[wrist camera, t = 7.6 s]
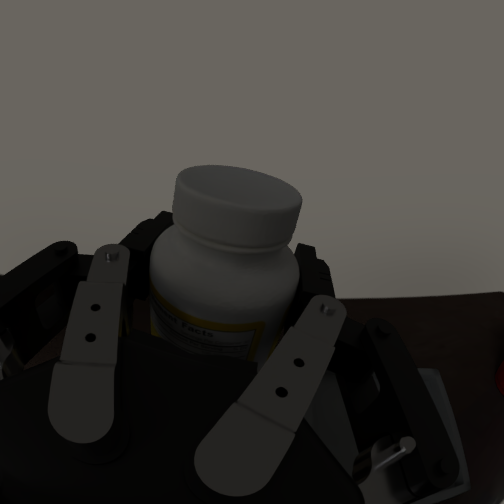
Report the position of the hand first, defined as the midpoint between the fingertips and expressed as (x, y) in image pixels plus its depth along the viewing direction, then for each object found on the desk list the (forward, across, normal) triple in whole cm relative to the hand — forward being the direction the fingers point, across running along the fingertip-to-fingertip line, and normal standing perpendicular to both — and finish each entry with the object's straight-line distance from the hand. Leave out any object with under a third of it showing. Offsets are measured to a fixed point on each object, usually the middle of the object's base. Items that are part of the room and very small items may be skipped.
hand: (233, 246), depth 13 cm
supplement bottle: (-3, 0, +6) cm, 7 cm away
